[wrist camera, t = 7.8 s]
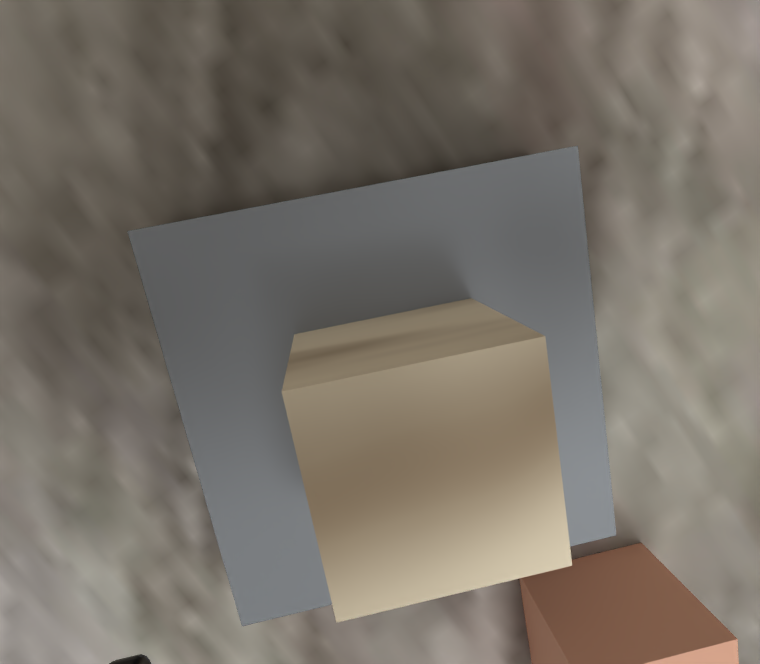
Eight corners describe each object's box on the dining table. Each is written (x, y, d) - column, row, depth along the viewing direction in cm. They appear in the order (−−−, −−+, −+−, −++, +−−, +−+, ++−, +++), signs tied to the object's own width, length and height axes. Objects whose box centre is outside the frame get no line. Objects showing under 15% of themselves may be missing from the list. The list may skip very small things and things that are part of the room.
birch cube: (495, 460, 16) (572, 565, 11) (331, 497, 16) (336, 622, 11) (471, 298, 15) (545, 336, 10) (294, 334, 15) (281, 392, 10)
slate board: (572, 489, 20) (616, 535, 17) (253, 564, 19) (242, 626, 16) (533, 158, 17) (577, 145, 14) (161, 229, 16) (127, 231, 14)
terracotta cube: (649, 646, 22) (742, 767, 17) (533, 677, 22) (595, 809, 17) (640, 541, 21) (737, 639, 16) (517, 571, 21) (579, 680, 16)
